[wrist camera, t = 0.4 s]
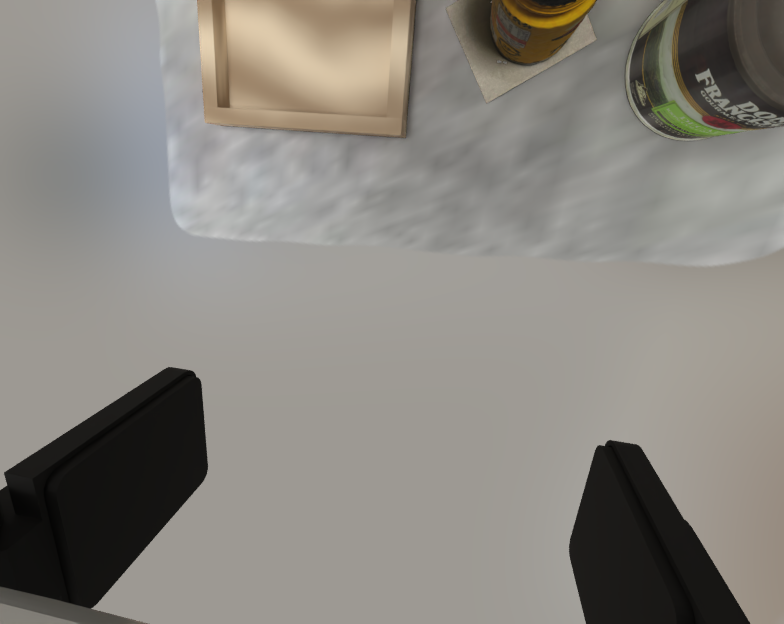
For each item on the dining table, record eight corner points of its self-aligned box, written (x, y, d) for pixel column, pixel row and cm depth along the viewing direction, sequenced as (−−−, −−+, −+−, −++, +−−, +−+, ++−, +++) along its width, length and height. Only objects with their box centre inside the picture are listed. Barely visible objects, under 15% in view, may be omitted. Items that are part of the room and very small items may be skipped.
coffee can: (729, 162, 32) (913, 154, 18) (597, 112, 32) (683, 70, 19) (826, 5, 28) (1142, -144, 15) (676, -48, 28) (851, -239, 15)
